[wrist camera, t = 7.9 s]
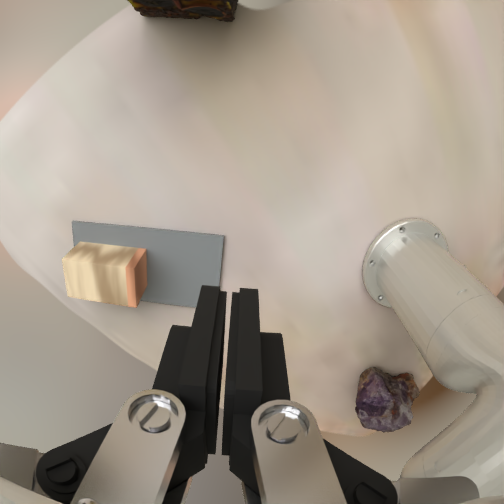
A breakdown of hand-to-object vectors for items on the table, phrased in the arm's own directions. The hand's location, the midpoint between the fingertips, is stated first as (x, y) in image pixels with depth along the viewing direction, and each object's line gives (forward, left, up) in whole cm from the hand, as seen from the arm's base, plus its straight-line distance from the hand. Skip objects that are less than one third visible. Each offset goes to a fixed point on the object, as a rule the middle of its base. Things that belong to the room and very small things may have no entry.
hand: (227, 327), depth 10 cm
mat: (+10, +13, -27) cm, 31 cm away
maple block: (+10, +13, -24) cm, 29 cm away
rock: (-27, +32, -27) cm, 49 cm away
